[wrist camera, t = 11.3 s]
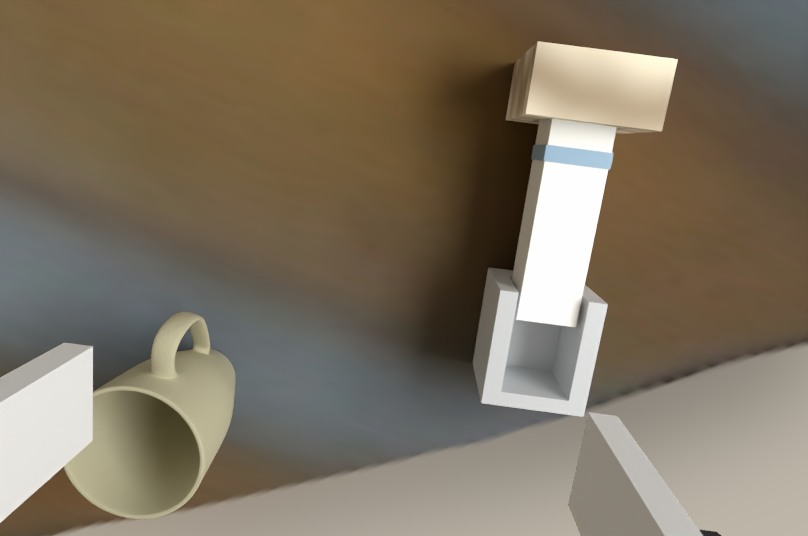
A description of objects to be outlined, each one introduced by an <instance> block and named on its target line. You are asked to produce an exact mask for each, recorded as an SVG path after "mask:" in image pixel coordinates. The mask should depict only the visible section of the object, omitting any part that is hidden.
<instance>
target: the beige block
mask: <svg viewBox="0 0 808 536" xmlns="http://www.w3.org/2000/svg"><path fill="white" fill-rule="evenodd" d="M677 61H678V59H672V58H664V57H656V56H648V55H640V54H633V53H625V52H617V51H609V50H601V49H594V48H586V47H578V46H570V45H562V44H555V43H547V42H539V41H538V42H537V43H535V44H534V45H533V46H532V47H531V48H530V49H529V50H528V51H527V52H526V53H525V54H523V55H522V56H521V57H520V58H519V59H518V60H517V61H516V62H515V64H514V70H513V76H512V83H511V89H510V95H509V101H508V107H507V114H506V120H508V121H516V122H524V123H532V124H539V120H540V119H542V118H550V119H558V120H566V121H574V122H581V123H589V124H597V125H605V126H612V127H617V129H616V134H627V133H643V132H659V131H662V128H663V124H664V119H665V115H666V110H667V106H668V101H669V97H670V92H671V88H672V83H673V79H674V74H675V70H676V65H677Z"/></svg>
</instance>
